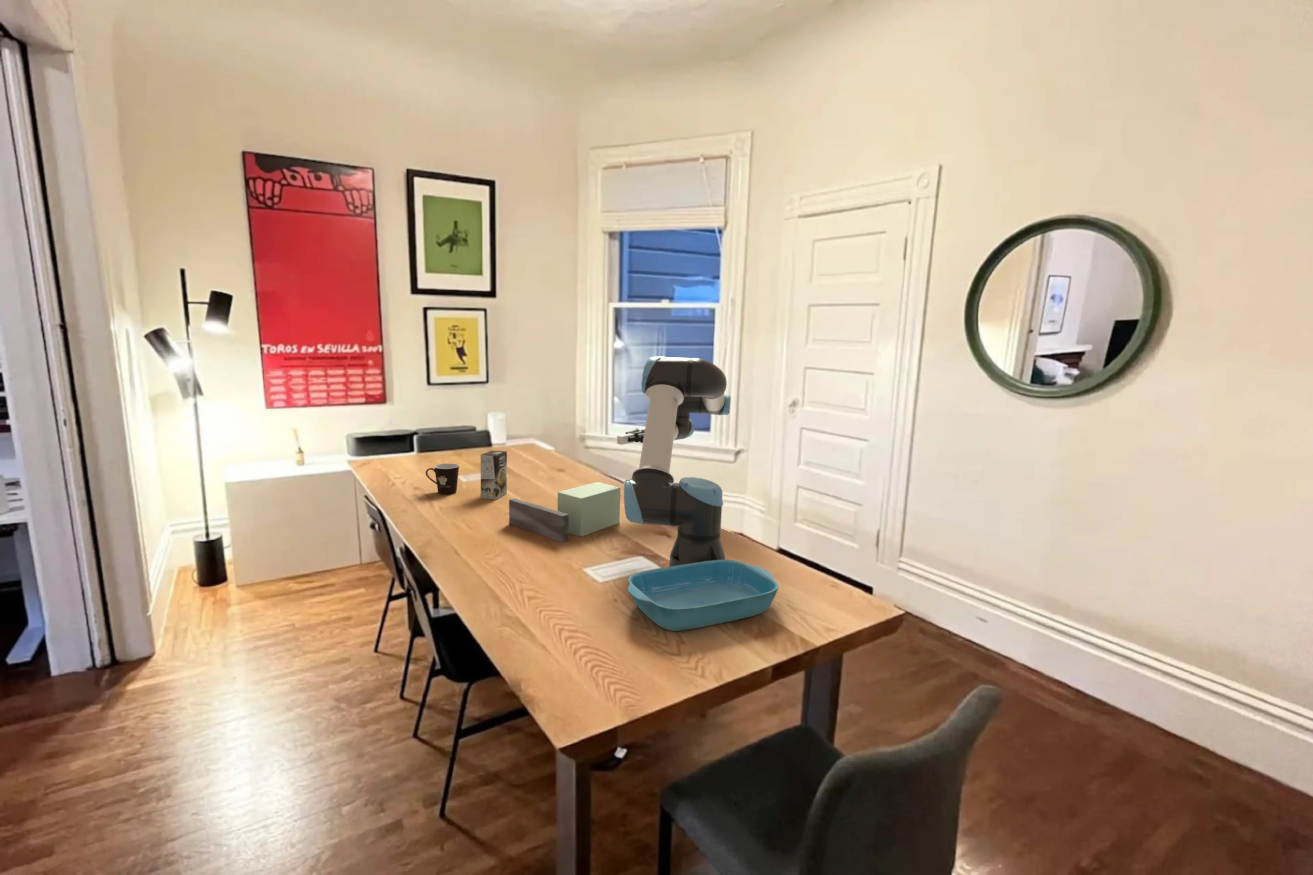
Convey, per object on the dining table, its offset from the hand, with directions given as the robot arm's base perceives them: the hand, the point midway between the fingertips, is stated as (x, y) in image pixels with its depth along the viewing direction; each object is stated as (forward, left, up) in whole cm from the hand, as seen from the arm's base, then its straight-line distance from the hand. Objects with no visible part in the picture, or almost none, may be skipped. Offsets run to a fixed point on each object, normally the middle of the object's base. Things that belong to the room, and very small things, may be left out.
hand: (619, 440), depth 208 cm
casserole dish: (-56, -43, -26) cm, 76 cm away
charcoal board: (-25, +16, -26) cm, 39 cm away
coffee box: (+4, +50, -26) cm, 56 cm away
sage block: (-13, +5, -26) cm, 29 cm away
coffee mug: (+1, +69, -26) cm, 73 cm away
